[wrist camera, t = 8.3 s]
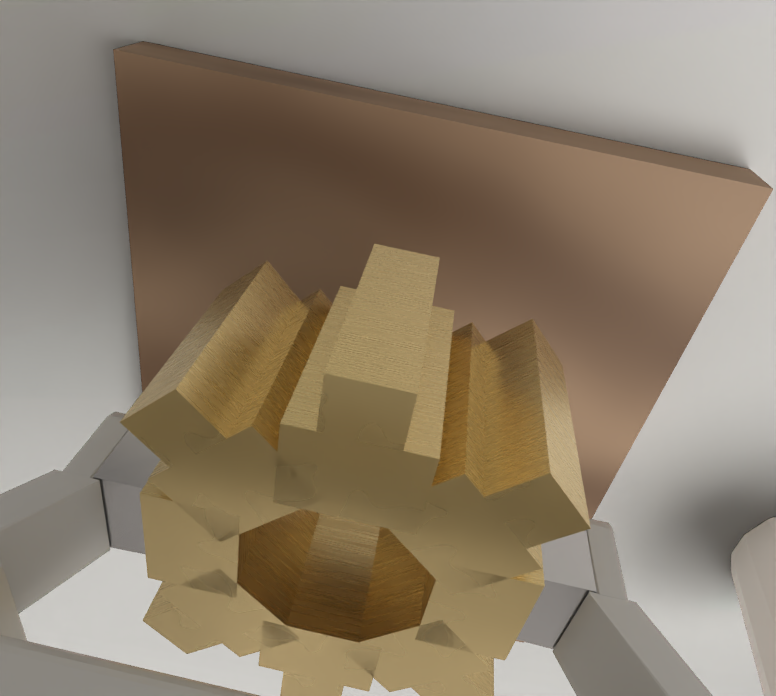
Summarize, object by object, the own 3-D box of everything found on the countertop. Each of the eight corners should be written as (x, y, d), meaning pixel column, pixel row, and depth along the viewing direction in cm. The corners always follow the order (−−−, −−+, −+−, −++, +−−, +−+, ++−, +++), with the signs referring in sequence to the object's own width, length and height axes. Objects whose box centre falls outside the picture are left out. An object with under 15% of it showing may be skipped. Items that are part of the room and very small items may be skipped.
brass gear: (475, 572, 16) (472, 741, 12) (220, 514, 16) (147, 665, 12) (593, 291, 11) (638, 443, 7) (223, 210, 11) (107, 324, 8)
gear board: (521, 610, 27) (527, 731, 23) (171, 530, 27) (114, 635, 23) (750, 169, 15) (845, 250, 11) (143, 41, 16) (19, 74, 12)
